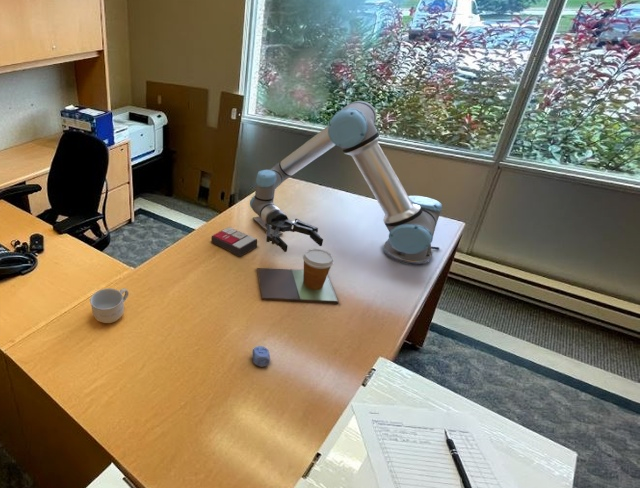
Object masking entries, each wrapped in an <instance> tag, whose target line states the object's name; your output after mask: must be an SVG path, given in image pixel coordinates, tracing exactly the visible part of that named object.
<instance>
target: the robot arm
mask: <svg viewBox="0 0 640 488" xmlns="http://www.w3.org/2000/svg"><path fill="white" fill-rule="evenodd" d="M376 121H377V111H376V109H375V108H374V106H373V105H372V104H371V103H369V102H366V101H363V100H356V101H353V102H349V103H348V104H346V105H345V106H344V107H342V109H340V110H339V111H338V112H337V113H336V112H335V114H334V115H333V117H332V118H331V119H330V121H329V124H328V125H327V126H326V127H324V128H323V129H322V130H320V131H319V132H318V133H317V134H315V135H313V136H312V137H311V138H310V139H308V140H307V141H306V142H304V143H303V144H302V145H301V146H299V147H298V148H296V149H295V150H294V151H293V152H291V153H289V154H288V155H287V156H286V157H284V158H283V159H281V160H280V161H279V162H278V163H276V164H274V165H273V166H271V168H270V169H262V170H259V171H258V172H257V174H256V179H255V192H254V195H253V196H252V197H251V199H250V200H249V206H250V209H252V211H253V212H254V213H255V214H256V215H257V217H261V218H262V219H263V220H264V221H265V222H266V224H265V230H264V231H265V242H266V243H270V242H271V245H276V247H279V248H280V249H281V250H282V251H283V252H284V253H287V252H288V246H289V245H288V244H287V243H286V242H285V241H284V240H283V239H282V238H281V237H280V235H279V233H280V232H281V233H285V232H291V233H295V232H296V233H300V234H303V235H307V236H309V238H310V239H311V240H312V241H313V242H315V243H316V244H317V245H318V246H319V247H323V242H324V239H323V238H322V237H321V234H319V227H317V226H315V225H312V224H310V223H306V222H304V221H302V220H300V219H299V218H294V220H293V221H292V220H290V219H289V217H288V216H287V215H286V214H285V213H284V212H283V210H281V209H280V208H279V207H278V206H276V205H275V204H274V199H275V193H276V192H275V191H276V189H278V188H279V186H281V184H282V183H284V182H285V181H287V180H288V179H289V178H291V177H292V176H293V175H294V174H296V173H298V172H299V171H301V170H302V169H303V168H305V167H306V166H308V165H309V164H311V163H313V161H315V160H316V159H318V158H319V157H321V156H322V155H324V154H325V153H327V152H328V151H330V150H331V149H332V148H334V147H335V146H337V147H340V149H341V151H342V153H343V154H344V155H349V156H351V158H352V160H353V161H354V163H355V165H356V167H357V168H358V170H359V172H360V174H361V176H362V177H363V179H364V180H365V182H366V184H367V185H368V187H369V189H370V191H371V193H372V194H373V196H374V198H375V199H376V201H377V203H378V205H379V207H380V208H381V210H382V211H383V213H384V216H383V218H382V222H383V224H384V225H385V227H386V229H387V230H388V232H389V233H388V239H386V241H385V242H384V245H383V252H384V254H385V255H386V256H387V257H389V258H391V259H392V260H394V261H396V262H399V263H402V264H406V265H412V266H413V265H414V266H417V265H418V266H419V265H425V264H427V263H429V262H430V261H431V258H432V255H433V253H432V252H433V251H432V250H440V247H438V246H432V243H433V239H434V234H435V231H436V227H437V224H438V221H439V219H440V218H439V217H440V215H441V213H442V208H443V204H442V203H441V202H440V201H438V200H436V199H434V198H431V197H427V196H423V195H408V193H407V192H406V190H405V188H404V185H403V184H402V182H401V181H400V179H399V177H398V176H397V173H396V172H395V170H394V169H393V167H392V165H391V163H390V161H389V159H388V158H387V155H385V152H384V151H383V149H382V147H381V146H380V144H379V140H380V137H381V134H380V133H379V131H378V130H377V128H376V125H375V123H376ZM271 229H273V230H275V231H274V233H273V236H271V235H270V230H271Z"/></svg>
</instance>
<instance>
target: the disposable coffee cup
mask: <svg viewBox="0 0 640 488" xmlns="http://www.w3.org/2000/svg"><path fill="white" fill-rule="evenodd" d="M302 259H303V270H304V276H303V283H304V285H305V286H306V287H307V288H309V289H313V290H319V289H321V288H322V287H323V285H324V282H325V280H326V277H327V276H328V275H329V272H330V270H331V267H332V266H333V265H334V264H335V263H334V262H335V260H334V256H333V255H332V253H330V252H328V251H327V250H325V249H320V248H310V249H308V250H306V251H305V253H304V254H303V255H302Z"/></svg>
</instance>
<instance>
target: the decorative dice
mask: <svg viewBox="0 0 640 488" xmlns="http://www.w3.org/2000/svg"><path fill="white" fill-rule="evenodd" d="M251 353H252V355H251V356H252V362H253V364H254V365H256V366H257V367H260V368H261V367H266V366H268V365H269V364H270V362H271V357H270V351H269V349H268V348H267V347H265V346H262V345H257V346H255V347H253V349H252V352H251Z"/></svg>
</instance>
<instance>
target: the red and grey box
mask: <svg viewBox="0 0 640 488" xmlns="http://www.w3.org/2000/svg"><path fill="white" fill-rule="evenodd" d="M211 243H212V244H214V245H216V246H218V247H221V248H223V249H225V250H227V251H228V252H230V253H231V254H232V255H235V256H237V257H242V256H244V255H245V254H247V253H249V252H251V251H252V250H254V249H256V248H257V247H258V238H256V237H253V236H251V235H248V234H247V233H246V232H242V231H240V230H237V229H235V228H233V227H231V226H228V227H226V228H224V229H222V230H221V231H218V232H216V233H214V234H213V235H211Z"/></svg>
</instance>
